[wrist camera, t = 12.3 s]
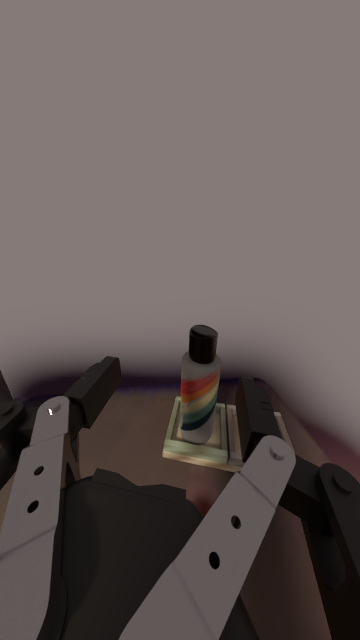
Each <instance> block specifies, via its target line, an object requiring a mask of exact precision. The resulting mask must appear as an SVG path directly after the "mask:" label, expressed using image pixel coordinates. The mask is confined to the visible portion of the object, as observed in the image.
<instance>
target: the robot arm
mask: <svg viewBox="0 0 360 640" xmlns="http://www.w3.org/2000/svg"><path fill="white" fill-rule="evenodd" d="M120 381H121V369H120V361H119V358H116V357H110V356H107V357H105V358H104V360H102V362H101V363H96V364H95V365H93V366H91V367H90V368H89V369H88V370H87V371H86V372H85V374H83V375H82V376H81V378H79V379H78V380H77V381H76V382H75V383H74V384H73V385H72V386H71V387H70V388H69V389H68V391H66V392H65V393H64V394H63V395H62V396H58V397H54V398H51V399H49V400H47V401H46V402H44V403H43V404H42V405H41V406H33V407H25V406H24V404H23V402H22V401H20V400H14V399H13V397H12V395H11V393H10V390H9V388H8V386H7V384H6V382H5V379H4V377H3V375H2V373H1V371H0V490H1V489H2V488H3V486H4V485H5V484H6V483H7V482H8V480H9V479H10V478H11V477H12V475H13V474H14V473H15V472H16V475H15V478H14V482H13V486H12V490H11V494H10V498H9V502H8V505H7V509H6V513H5V517H4V521H3V525H2V529H1V532H0V640H259V637H258V635H257V633H256V631H255V628H254V626H253V624H252V621H251V619H250V617H249V614H248V612H247V610H246V607H245V605H244V603H243V601H242V598H241V596H240V594H239V592H240V590H241V588H242V585H243V583H244V581H245V579H246V576H247V574H248V572H249V570H250V567H251V565H252V563H253V560H254V558H255V556H256V554H257V551H258V549H259V547H260V545H261V542H262V540H263V538H264V536H265V533H266V531H267V529H268V527H269V524H270V522H271V520H272V517H273V515H274V513H275V510H276V507H277V505H280V506H282V507H283V508H285V509H286V510H288V511H290V512H291V513H293V514H294V515H296V516H298V517H299V518H301V522H302V526H303V530H304V534H305V538H306V541H307V545H308V549H309V553H310V557H311V561H312V564H313V568H314V572H315V576H316V580H317V584H318V587H319V591H320V595H321V599H322V603H323V607H324V611H325V614H326V618H327V622H328V626H329V630H330V634H331V637H332V640H360V484H359V482H358V481H357V480H356V479H355V478H354V477H353V476H352V475H351V474H350V473H349V472H347V471H346V470H344V469H343V468H341V467H340V466H337V465H335V464H331V463H325V464H323V465H322V466H321V467H318V466H316V465H314V464H312V463H310V462H308V461H306V460H304V459H302V458H300V457H299V456H297V455H296V454H295V453H294V452H293V450H292V449H291V447H290V446H289V445H288V444H287V443H286V442H285V441H284V440H283V438H282V435H281V432H280V429H279V426H278V423H277V420H276V417H275V414H274V412H273V409H272V406H271V403H270V400H269V397H268V395H267V393H266V392H265V391H264V390H263V389H262V388H259V387H256V385H255V382H254V379H253V378H251V377H244V376H240V378H239V382H238V386H237V391H236V396H235V406H236V414H237V423H238V431H239V439H240V448H241V456H242V462H244V463H245V464H244V466H243V467H242V469H241V470H240V471H237V472H236V473H235V474H234V476H233V477H232V478H231V480H230V481H229V483H228V484H227V486H226V487H225V489H224V490H223V491H222V493H221V494H220V496H219V497H218V499H217V500H216V502H215V503H214V504H213V506H212V507H211V509H210V510H209V512H208V513H207V515H206V516H205V517H204V515H203V514H202V512H201V511H200V510H199V509H198V508H197V507H196V506H195V505H194V504H193V503H192V502H191V501H189V500H188V499H186V498H185V497H186V490H184V489H180V488H176V487H172V486H168V485H164V484H160V485H148V486H136V485H135V484H133V483H132V482H130V481H129V480H127V479H126V478H124V477H123V476H121V475H120V474H118V473H115V472H111V471H107V470H103V469H99V468H97V469H96V471H95V473H94V475H93V476H90V477H85V478H83V479H81V476H80V469H79V433H78V432H79V431H80V430H81V428H82V427H83V428H88V429H90V427H91V426H92V424H93V423H94V421H95V420H96V418H97V417H98V415H99V414H100V412H101V411H102V409H103V408H104V406H105V405H106V403H107V402H108V400H109V399H110V397H111V396H112V394H113V393H114V391H115V390H116V388H117V387H118V385H119V383H120ZM16 470H17V471H16Z"/></svg>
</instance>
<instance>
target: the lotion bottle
mask: <svg viewBox="0 0 360 640" xmlns="http://www.w3.org/2000/svg"><path fill="white" fill-rule="evenodd" d="M217 338H218V333H217V332H216V331H215V330H214V329H212V328H210V327H208V326H205V325H195V326H193V327H192V328H191V329H190V335H189V351H188V352H186V353H185V354H184V355H183V358H182V373H181V375H182V376H181V409H180V430H181V434H182V436H183V438H184V439H185V440H186V441H187V442H189V443H191V444H194V445H201V444H204V443H206V442H207V441H208V440H209V439H210V437H211V435H212V430H213V423H214V416H215V408H216V401H217V393H218V386H219V378H220V370H221V360H220V358H219V356H218V355H216V345H217Z"/></svg>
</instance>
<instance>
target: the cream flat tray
mask: <svg viewBox="0 0 360 640" xmlns="http://www.w3.org/2000/svg"><path fill="white" fill-rule="evenodd" d="M180 409H181V397H176V400H175V404H174V408H173V412H172V415H171V419H170V423H169V427H168V431H167V435H166V439H165V442H164V449H163V457H165V458H169V459H174V460H179V461H184V462H188V463H193V464H198V465H202V466H207V467H212V468H216V469H221V470H226V471H230V472H235V473H236V472H237V471H240V470H241V469H242V467H243V466H244V464H245V463H244V462H242V456H241V448H240V439H239V431H238V423H237V414H236V406H234V405H227V407H226V410H225V404H221V403H216V408H215V416H214V423H213V430H212V435H211V437H210V439H209V440H208V441H207V442H206V443H204V444H201V445H194V444H191V443H189V442H187V441H186V440H185V439H184V438H183V436H182V434H181V430H180ZM274 414H275V417H276V420H277V423H278V426H279V429H280V432H281V435H282V438H283V440H284V441H285V442H286V443H287V444H288V445H289V446H290V447H291V449H292V450H293V452H294V453H295V451H294V449H293V446H292V443H291V441H290V438H289V435H288V433H287V430H286V428H285V425H284V422H283V420H282V417H281V414H280V413H279V412H274Z"/></svg>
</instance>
